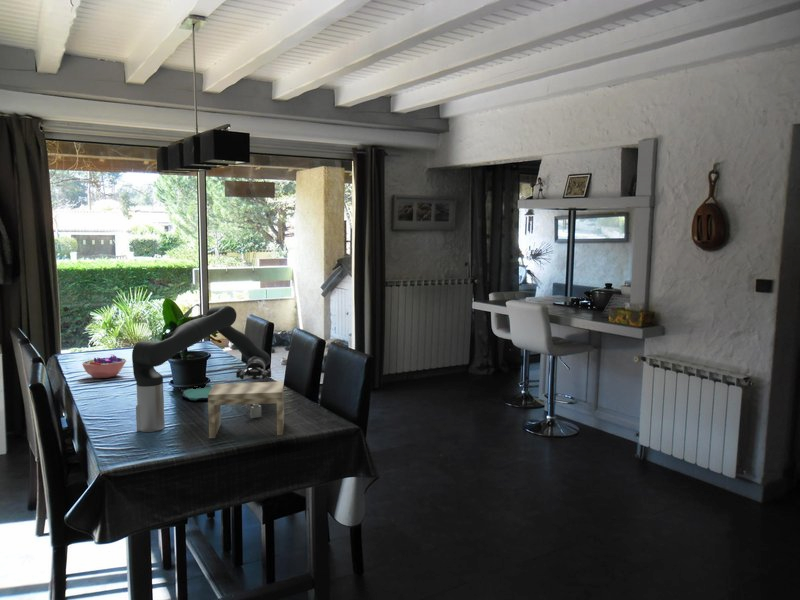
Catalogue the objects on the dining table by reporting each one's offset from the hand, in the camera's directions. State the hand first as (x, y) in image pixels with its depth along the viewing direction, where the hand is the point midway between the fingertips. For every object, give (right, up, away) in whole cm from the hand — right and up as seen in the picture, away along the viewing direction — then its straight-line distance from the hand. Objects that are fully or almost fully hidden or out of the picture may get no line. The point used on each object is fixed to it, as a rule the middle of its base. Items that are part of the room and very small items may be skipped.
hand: (252, 376), depth 252 cm
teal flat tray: (-30, -12, +29) cm, 44 cm away
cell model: (-89, -8, +59) cm, 107 cm away
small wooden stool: (+4, -17, -22) cm, 28 cm away
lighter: (+2, -16, -7) cm, 17 cm away
